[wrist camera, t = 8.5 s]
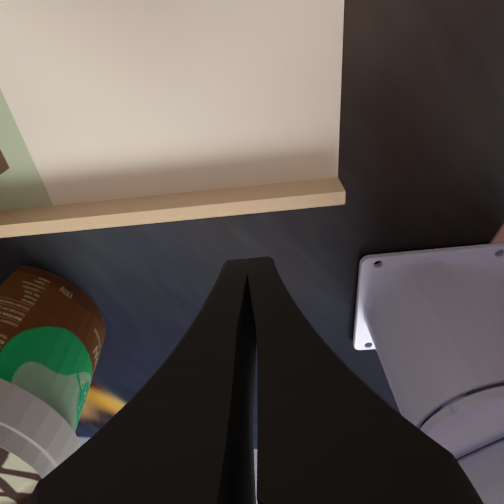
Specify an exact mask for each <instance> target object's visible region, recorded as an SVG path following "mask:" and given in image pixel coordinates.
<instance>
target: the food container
mask: <svg viewBox="0 0 504 504" xmlns="http://www.w3.org/2000/svg"><path fill="white" fill-rule="evenodd" d="M105 334H106V327H105V322H104V318H103V316H102V314H101V312H100V310H99V308H98V307H97V306H96V304H95V303H94V302H93V300H92V299H91V298H90V297H89V296H88V295H86V294H85V293H84V292H83V291H82V290H81V289H79V288H78V287H77V286H75V285H74V284H72V283H70V282H69V281H67V280H65V279H64V278H62V277H59V276H57V275H55V274H53V273H51V272H48V271H45V270H42V269H39V268H35V267H31V266H26V265H21V266H20V267H19V268H18V269H17V270H16V271H15V272H14V273H13V274H12V275H11V276H10V277H9V278H8V279H7V280H6V281H5V282H4V283H3V284H2V285H0V504H26V503H27V502H28V500H29V498H30V496H31V494H32V492H33V490H34V488H35V486H36V484H37V483H38V482H39V481H40V480H41V479H43V478H44V477H45V476H46V475H48V474H49V473H50V472H51V471H52V470H54V469H55V468H56V467H57V466H58V465H60V464H61V463H62V462H63V461H64V460H66V459H67V458H68V457H69V456H70V455H71V454H73V453H74V452H75V451H76V450H77V449H79V448H80V444H79V440H78V438H77V436H76V434H75V431H76V428H77V425H78V422H79V418H80V415H81V412H82V409H83V406H84V403H85V399H86V396H87V393H88V390H89V387H90V384H91V380H92V377H93V374H94V371H95V368H96V364H97V361H98V358H99V355H100V352H101V349H102V345H103V342H104V339H105Z"/></svg>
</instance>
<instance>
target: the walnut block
mask: <svg viewBox="0 0 504 504" xmlns="http://www.w3.org/2000/svg"><path fill="white" fill-rule="evenodd" d="M8 169H9V166H8V164H7V162H6V160H5V158H4V156H3V154H2V152H1V150H0V174H2V173H3V172H5V171H6V170H8Z"/></svg>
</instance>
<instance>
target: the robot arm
mask: <svg viewBox="0 0 504 504" xmlns="http://www.w3.org/2000/svg"><path fill="white" fill-rule="evenodd" d="M498 250H500V251H499V252H498V253H496V252H497V251H498ZM376 261H380V262H379V263H378V264H374V263H375V262H376ZM256 343H257V371H258V453H257V501H258V504H504V243H493V244H482V245H472V246H461V247H450V248H439V249H428V250H417V251H406V252H395V253H385V254H374V255H366V256H364V257H362V259H361V260H360V262H359V274H358V286H357V298H356V310H355V321H354V333H353V345H354V348H355V349H357V350H367V349H376V351H377V353H378V356H379V359H380V361H381V364H382V366H383V369H384V372H385V374H386V377H387V379H388V382H389V385H390V387H391V390H392V392H393V395H394V397H395V400H396V403H397V405H398V408H399V410H400V413H401V414H400V413H399V412H397V411H396V410H395V409H394V408H393V407H391V406H390V405H389V404H388V403H387V402H385V401H384V400H383V399H382V398H381V397H380V396H378V395H377V394H376V393H375V392H374V391H373V390H372V389H371V388H370V387H369V386H368V385H367V384H365V383H364V382H363V381H362V380H361V379H360V378H359V377H358V376H357V375H356V374H355V373H354V372H353V371H351V370H350V369H349V368H348V367H347V366H346V365H345V363H344V362H343V361H342V360H341V359H340V358H339V357H338V356H337V355H336V354H335V353H334V352H333V351H332V350H331V349H330V347H329V346H328V345H327V344H326V343H325V342H324V341H323V339H322V338H321V337H320V336H319V335H318V333H317V332H316V331H315V330H314V328H313V327H312V326H311V324H310V323H309V322H308V320H307V319H306V318H305V316H304V315H303V314H302V312H301V311H300V309H299V308H298V307H297V305H296V303H295V302H294V300H293V299H292V297H291V296H290V294H289V292H288V291H287V289H286V287H285V286H284V284H283V282H282V280H281V278H280V276H279V274H278V272H277V269H276V267H275V264H274V260H273V259H272V258H270V257H260V258H249V259H239V260H228V261H226V262H225V263H224V264H223V267H222V269H221V272H220V274H219V276H218V279H217V281H216V283H215V285H214V287H213V289H212V291H211V292H210V294H209V296H208V298H207V300H206V301H205V303H204V305H203V307H202V308H201V310H200V312H199V314H198V315H197V317H196V318H195V320H194V321H193V323H192V324H191V326H190V327H189V329H188V330H187V332H186V334H185V335H184V336H183V338H182V339H181V341H180V342H179V343H178V345H177V346H176V347H175V349H174V350H173V351H172V353H171V354H170V355H169V357H168V358H167V359H166V360H165V362H164V363H163V364H162V365H161V367H160V368H159V369H158V370H157V371H156V372H155V373H154V375H153V376H152V377H151V378H150V379H149V380H148V381H147V383H146V384H145V385H144V386H143V387H142V388H141V389H140V390H139V391H138V393H137V394H136V395H135V396H134V397H133V398H132V399H131V400H130V401H129V402H128V403H127V404H126V405H125V406H124V407H123V408H122V409H121V410H120V411H119V412H118V413H117V414H116V415H114V416H113V417H112V418H111V419H110V420H109V421H108V422H107V423H106V424H105V425H104V426H103V427H102V428H101V429H100V430H99V431H98V432H97V433H96V434H95V435H94V436H92V437H91V438H90V439H89V440H88V441H87V442H86V443H85V444H83V445H82V446H81V447H80V448H79V449H77V450H76V451H75V452H74V453H73V454H71V455H70V456H69V457H68V458H67V459H66V460H64V461H63V462H62V463H61V464H60V465H58V466H57V467H56V468H55V469H54V470H52V471H51V472H50V473H49V474H48V475H46V476H45V477H44V478H43V479H41V480H40V481H39V482H38V483H37V484H36V486H35V488H34V490H33V492H32V494H31V496H30V498H29V500H28V502H27V503H26V504H256V497H255V475H254V449H253V404H254V384H255V364H256Z"/></svg>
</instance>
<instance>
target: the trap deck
mask: <svg viewBox="0 0 504 504" xmlns="http://www.w3.org/2000/svg"><path fill="white" fill-rule="evenodd" d="M343 21H344V0H0V150H1V152H2V154H3V156H4V158H5V160H6V162H7V164H8V166H9V169H8V170H6V171H5V172H3V173H2V174H0V238H5V237H16V236H26V235H36V234H46V233H57V232H67V231H77V230H87V229H98V228H108V227H118V226H128V225H139V224H149V223H159V222H169V221H180V220H190V219H200V218H210V217H221V216H231V215H241V214H251V213H262V212H272V211H282V210H292V209H303V208H313V207H323V206H333V205H344V204H345V195H346V191H345V189H344V187H343V186H342V184H341V182H340V180H339V178H338V158H339V130H340V103H341V76H342V49H343Z"/></svg>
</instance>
